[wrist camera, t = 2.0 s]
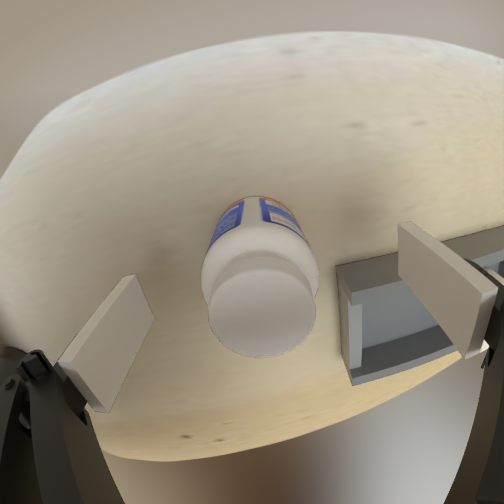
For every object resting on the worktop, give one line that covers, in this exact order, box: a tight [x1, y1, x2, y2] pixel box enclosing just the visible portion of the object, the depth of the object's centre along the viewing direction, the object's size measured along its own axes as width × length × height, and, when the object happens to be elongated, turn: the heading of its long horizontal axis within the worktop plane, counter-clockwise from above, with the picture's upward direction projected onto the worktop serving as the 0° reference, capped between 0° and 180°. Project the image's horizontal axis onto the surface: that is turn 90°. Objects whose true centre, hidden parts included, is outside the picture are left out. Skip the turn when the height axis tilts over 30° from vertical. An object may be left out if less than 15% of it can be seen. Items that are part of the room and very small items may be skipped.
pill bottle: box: [201, 197, 319, 358], centre depth 15 cm, size 5×5×10 cm
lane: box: [336, 226, 504, 386], centre depth 19 cm, size 18×9×5 cm, turn 102°
